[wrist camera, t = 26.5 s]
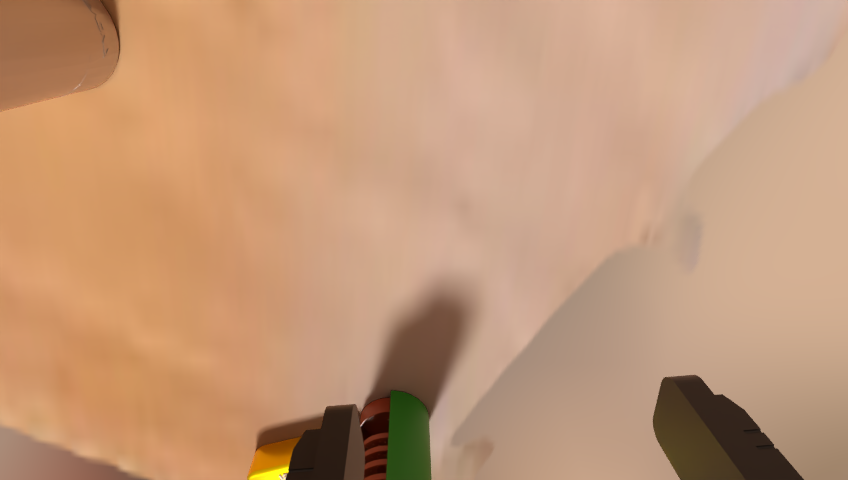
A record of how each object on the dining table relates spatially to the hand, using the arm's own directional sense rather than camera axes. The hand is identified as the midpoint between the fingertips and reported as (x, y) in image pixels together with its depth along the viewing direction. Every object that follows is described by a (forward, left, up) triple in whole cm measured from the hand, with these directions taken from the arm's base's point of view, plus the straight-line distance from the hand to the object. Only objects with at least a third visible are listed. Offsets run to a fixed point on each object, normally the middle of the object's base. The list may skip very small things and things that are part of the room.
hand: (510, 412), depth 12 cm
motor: (-7, -38, -33) cm, 51 cm away
